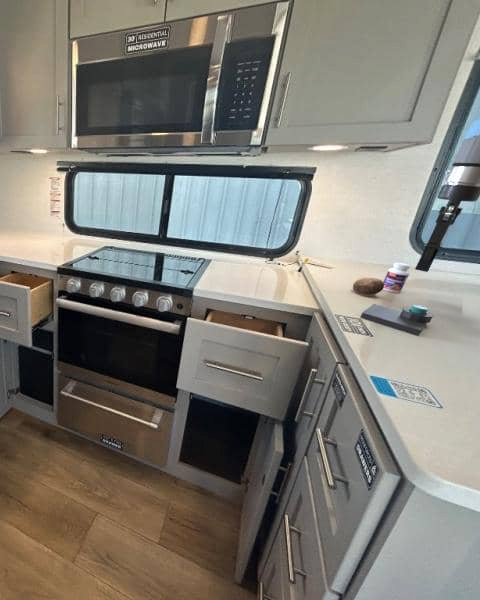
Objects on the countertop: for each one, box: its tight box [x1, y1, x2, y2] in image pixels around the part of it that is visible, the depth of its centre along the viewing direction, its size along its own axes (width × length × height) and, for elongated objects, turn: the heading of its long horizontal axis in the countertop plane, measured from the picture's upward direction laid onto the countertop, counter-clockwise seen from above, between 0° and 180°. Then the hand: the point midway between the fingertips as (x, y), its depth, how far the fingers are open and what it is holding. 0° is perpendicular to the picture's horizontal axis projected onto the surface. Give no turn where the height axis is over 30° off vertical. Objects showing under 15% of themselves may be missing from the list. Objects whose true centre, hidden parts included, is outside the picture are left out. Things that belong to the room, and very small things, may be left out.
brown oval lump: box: [352, 277, 384, 297], centre depth 109 cm, size 8×8×6 cm
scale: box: [360, 303, 434, 337], centre depth 90 cm, size 12×12×4 cm
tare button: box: [410, 304, 429, 315], centre depth 89 cm, size 3×3×2 cm
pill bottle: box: [382, 261, 411, 294], centre depth 114 cm, size 5×5×10 cm
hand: (421, 270), depth 96 cm, fingers closed
